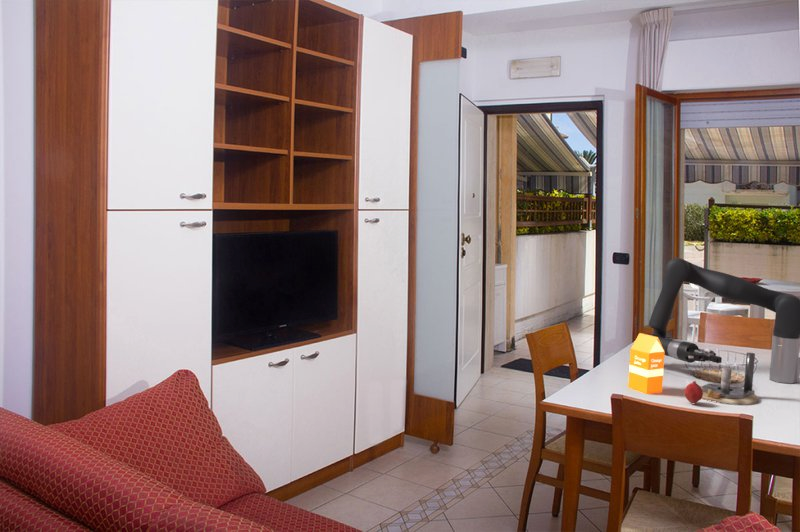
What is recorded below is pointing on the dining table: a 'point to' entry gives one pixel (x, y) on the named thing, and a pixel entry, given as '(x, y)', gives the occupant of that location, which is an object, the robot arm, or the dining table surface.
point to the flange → (734, 390)
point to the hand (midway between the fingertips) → (720, 360)
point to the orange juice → (646, 365)
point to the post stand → (726, 387)
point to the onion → (693, 392)
